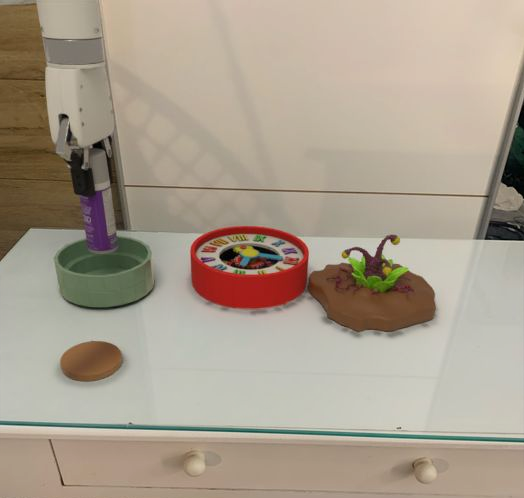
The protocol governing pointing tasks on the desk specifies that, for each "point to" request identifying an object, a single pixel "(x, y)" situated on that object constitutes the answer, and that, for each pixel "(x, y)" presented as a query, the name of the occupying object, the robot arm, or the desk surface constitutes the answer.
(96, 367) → the coaster
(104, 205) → the container
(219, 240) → the toy clock
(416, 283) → the plant
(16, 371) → the desk surface
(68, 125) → the robot arm
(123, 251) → the bowl
